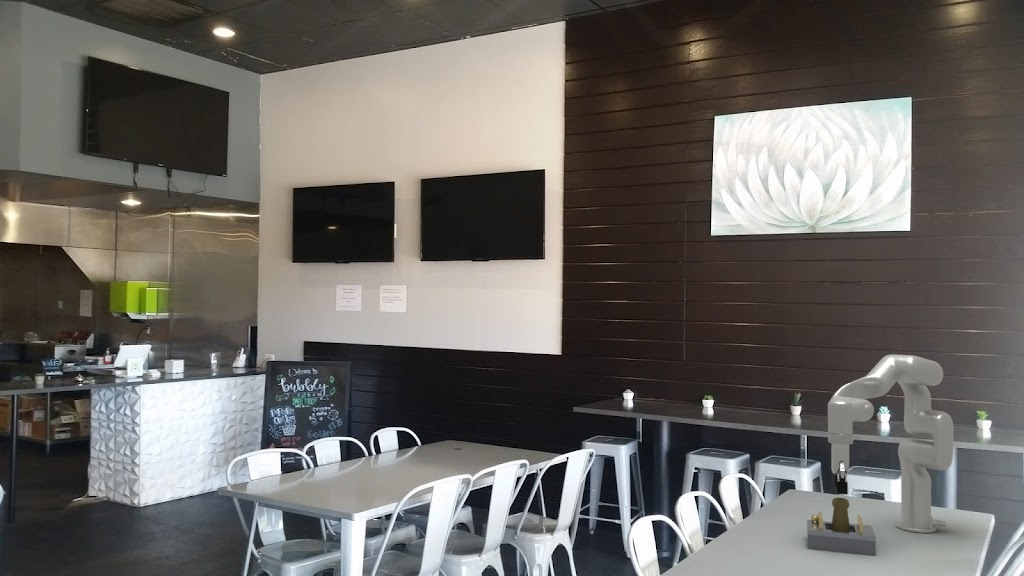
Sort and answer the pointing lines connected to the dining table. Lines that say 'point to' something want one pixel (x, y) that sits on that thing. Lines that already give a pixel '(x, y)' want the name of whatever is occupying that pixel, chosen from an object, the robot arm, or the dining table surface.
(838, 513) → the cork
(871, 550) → the grey slotted box
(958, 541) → the dining table surface
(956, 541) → the dining table surface
